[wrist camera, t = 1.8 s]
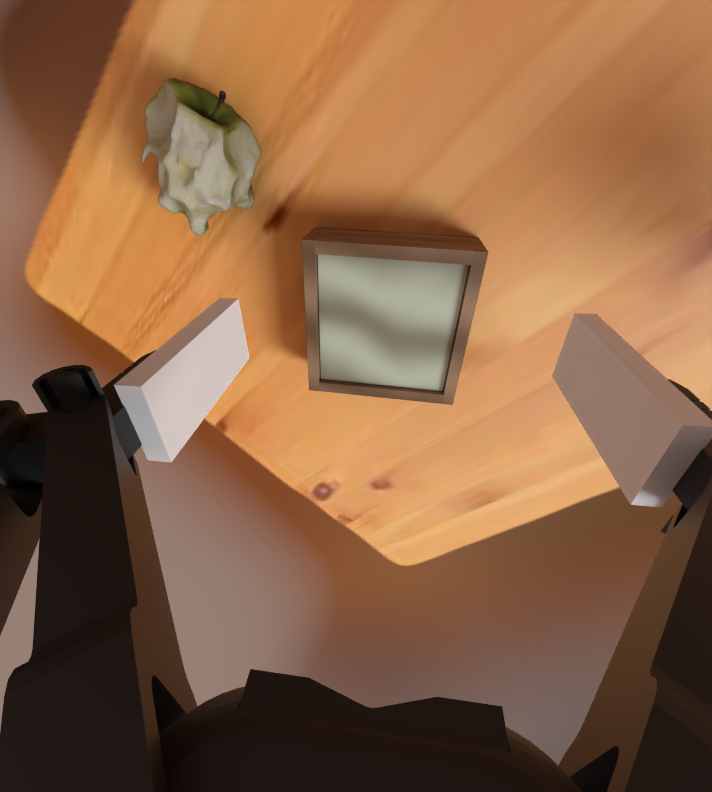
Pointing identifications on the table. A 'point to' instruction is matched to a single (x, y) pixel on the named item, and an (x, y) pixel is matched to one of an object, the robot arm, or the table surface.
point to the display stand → (389, 311)
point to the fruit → (199, 152)
